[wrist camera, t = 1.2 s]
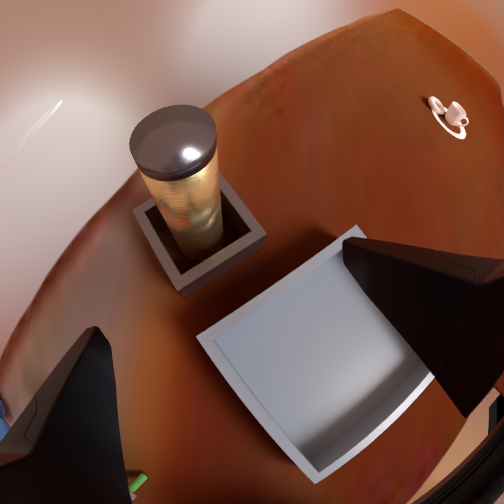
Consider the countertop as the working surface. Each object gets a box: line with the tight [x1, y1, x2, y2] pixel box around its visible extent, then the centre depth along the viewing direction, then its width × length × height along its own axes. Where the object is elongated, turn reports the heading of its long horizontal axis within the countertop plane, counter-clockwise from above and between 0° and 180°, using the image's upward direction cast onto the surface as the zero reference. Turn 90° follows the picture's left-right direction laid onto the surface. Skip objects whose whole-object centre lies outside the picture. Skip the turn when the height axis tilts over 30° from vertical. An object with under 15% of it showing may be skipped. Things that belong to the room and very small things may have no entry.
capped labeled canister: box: [129, 105, 224, 260], centre depth 17 cm, size 4×4×13 cm
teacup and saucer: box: [428, 97, 468, 139], centre depth 31 cm, size 9×8×4 cm
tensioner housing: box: [132, 172, 267, 298], centre depth 22 cm, size 8×8×4 cm
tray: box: [196, 225, 435, 484], centre depth 19 cm, size 15×15×4 cm
